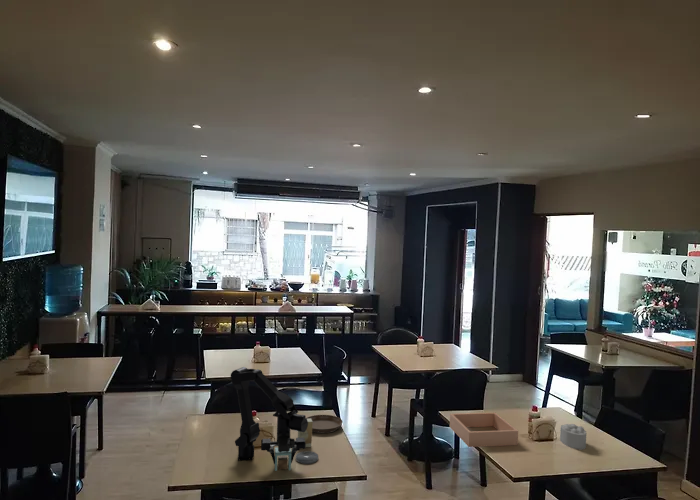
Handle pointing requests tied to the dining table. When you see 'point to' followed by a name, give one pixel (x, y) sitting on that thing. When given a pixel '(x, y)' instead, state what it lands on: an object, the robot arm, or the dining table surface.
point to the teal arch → (283, 455)
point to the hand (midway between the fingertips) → (282, 463)
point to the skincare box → (307, 433)
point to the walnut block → (282, 462)
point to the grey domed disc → (306, 457)
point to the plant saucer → (325, 423)
